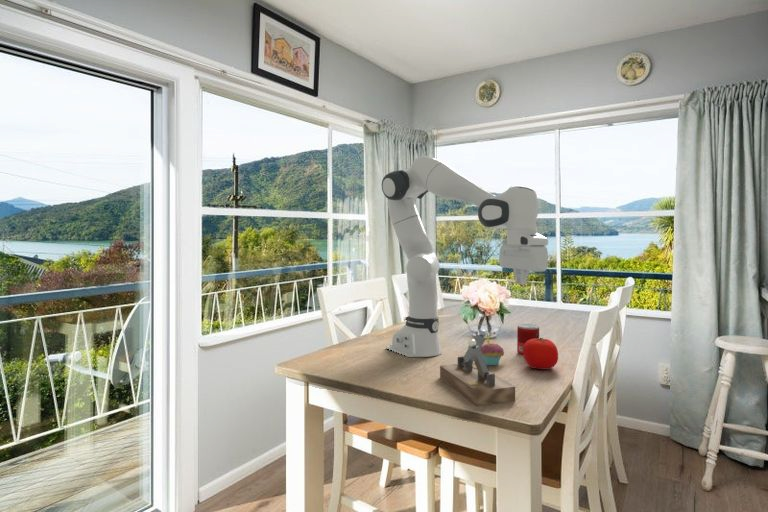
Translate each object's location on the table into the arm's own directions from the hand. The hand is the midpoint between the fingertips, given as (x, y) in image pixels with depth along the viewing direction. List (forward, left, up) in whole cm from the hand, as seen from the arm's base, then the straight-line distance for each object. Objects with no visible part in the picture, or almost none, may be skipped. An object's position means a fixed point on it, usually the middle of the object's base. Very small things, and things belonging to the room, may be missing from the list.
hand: (521, 284), depth 135 cm
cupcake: (-17, +13, -31) cm, 38 cm away
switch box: (-8, -13, -31) cm, 35 cm away
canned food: (-13, +34, -31) cm, 48 cm away
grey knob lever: (-14, -10, -26) cm, 31 cm away
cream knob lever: (-2, -16, -26) cm, 31 cm away
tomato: (-2, +20, -31) cm, 37 cm away
